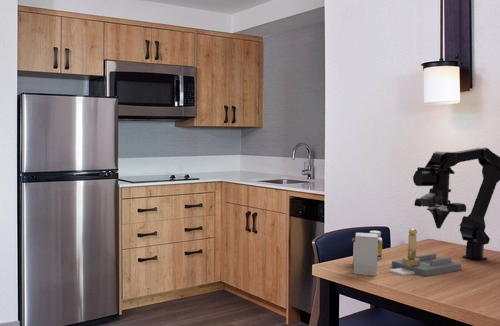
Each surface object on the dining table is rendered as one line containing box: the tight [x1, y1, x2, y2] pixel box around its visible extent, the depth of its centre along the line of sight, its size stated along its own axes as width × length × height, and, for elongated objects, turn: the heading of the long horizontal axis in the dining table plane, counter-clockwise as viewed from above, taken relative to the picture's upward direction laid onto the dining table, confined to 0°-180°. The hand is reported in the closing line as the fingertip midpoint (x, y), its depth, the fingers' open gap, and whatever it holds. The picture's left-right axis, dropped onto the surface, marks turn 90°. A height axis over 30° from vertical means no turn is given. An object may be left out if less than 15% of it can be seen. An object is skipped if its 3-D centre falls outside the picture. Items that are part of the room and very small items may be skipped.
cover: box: [388, 268, 416, 277], centre depth 181 cm, size 6×6×1 cm
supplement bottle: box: [369, 230, 383, 260], centre depth 202 cm, size 5×5×10 cm
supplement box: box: [353, 232, 378, 277], centre depth 180 cm, size 7×7×13 cm
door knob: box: [402, 228, 420, 266], centre depth 183 cm, size 5×3×12 cm, turn 124°
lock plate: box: [391, 253, 462, 277], centre depth 188 cm, size 19×14×4 cm
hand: (438, 228), depth 200 cm, fingers closed
